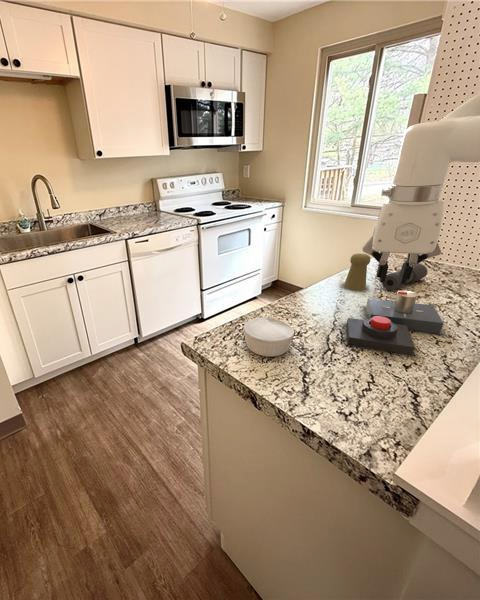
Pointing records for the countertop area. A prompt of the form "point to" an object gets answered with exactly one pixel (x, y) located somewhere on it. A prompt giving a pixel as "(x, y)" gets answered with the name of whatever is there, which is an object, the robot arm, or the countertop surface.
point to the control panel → (407, 315)
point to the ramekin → (268, 336)
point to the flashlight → (394, 283)
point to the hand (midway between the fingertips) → (391, 280)
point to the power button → (380, 322)
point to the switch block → (379, 336)
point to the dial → (404, 301)
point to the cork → (357, 272)
